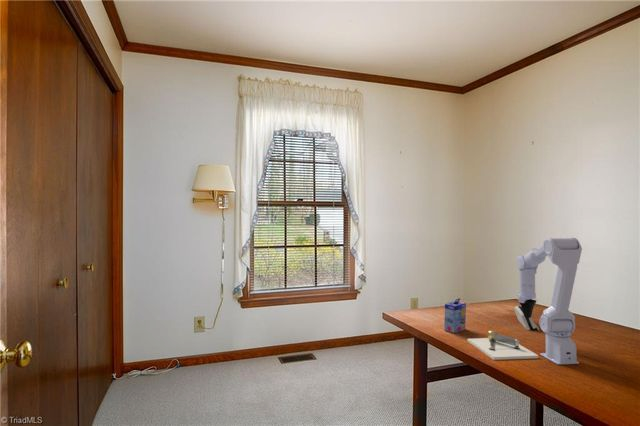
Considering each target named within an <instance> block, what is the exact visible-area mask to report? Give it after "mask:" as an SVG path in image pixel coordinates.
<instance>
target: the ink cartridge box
mask: <svg viewBox="0 0 640 426" xmlns="http://www.w3.org/2000/svg"><path fill="white" fill-rule="evenodd" d="M460 300H461V298H460V297H459V298H456V299H455V301H451V302H447V303H445V304H444V331H447V332H449V333H452V334H456V333H458V332H462V331H464V330H466V322H467V321H466V318H467V317H466V311H467V308H466V306H467V303H466V302H463V301H460Z"/></svg>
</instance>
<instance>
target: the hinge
mask: <svg viewBox="0 0 640 426" xmlns="http://www.w3.org/2000/svg"><path fill="white" fill-rule="evenodd" d="M513 310H514V313H515V315H516V317H517V320H518V321H519V322H520V324H521V325H522V326H523V327H524V328H525V329H526V330H527V331H529V330H530V331H531V329H533V330H534V329H536V330H537V331H540V328H539V326H538V325H537V324H536V323H535V322H534V321H533V318H532V317H531V318H526V317H524V314H523V310H522V307H521V305H520V304H519V305H516V306H514V307H513Z"/></svg>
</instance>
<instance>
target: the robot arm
mask: <svg viewBox="0 0 640 426" xmlns="http://www.w3.org/2000/svg"><path fill="white" fill-rule="evenodd" d="M582 250H583V247H582V245H581V243H580V241H579V239H578V238H576V237H570V238H568V237H565V238H561V237H560V238H557V237H556V238H553V237H547V238H545V240H543V244H542V245H541V246H540V247H539V248H531V250H530V251H529V252H526V253H525V254H524V255H518V256H517V257H516V262H515V263H516V268H517V269H518V270H519V271H518V272H519V273H518V274H519V275H518V276H519V278H518V279H519V285H518V286H519V293H517V294H516V297H518V303H519V305H521V307H522V310H523V314H524V317H526V318H532V316H533V315H532V314H533V311H534V307H535V305H536V303H537V299H536V298H537V295H536V274H537V270H538V267H539V265H540V264H542V263H543V262H544V261H545V260H546V257H548V258H549V260H550V261H551V263H552V264H554V265H555V266H557V267H558V268H557V272H556V278H555V283H554V288H553V293H552V298H551V302H550V303H551V305H550V306H549V307H547V308H545V309H544V310H543V311H542V314H541V316H540V317H539V323H538V324H539V327H540V329H541V330H542V331H543V333H545V352H542V353H541V352H540V353H539V355H540V356H542V357H543V358H545V359H547V360H548V361H551V362H552V363H554V364H556V365H578V364H579V363H580V362H579V361H577V360H578V359H577V344H576V343H575V342H574V340H572V339H571V336H572V334H573V333H574V332H575V330H576V321H575V320H576V317H575V315H574V314H573V313H572V311H570V310H569V308H570V304H571V299H572V294H573V289H574V286H575V285H574V284H575V281H576V280H575V279H576V276H577V270H578V265H579V263H580V262H581V261H580V260H581V255H582Z"/></svg>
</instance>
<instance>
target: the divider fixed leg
mask: <svg viewBox="0 0 640 426" xmlns="http://www.w3.org/2000/svg"><path fill="white" fill-rule="evenodd" d="M490 349H491V350H494V341H490Z"/></svg>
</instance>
